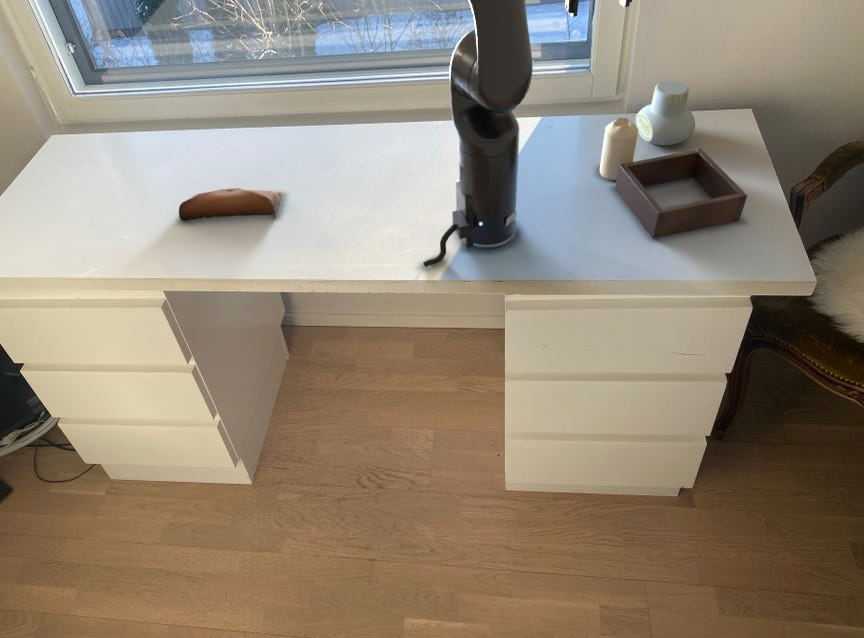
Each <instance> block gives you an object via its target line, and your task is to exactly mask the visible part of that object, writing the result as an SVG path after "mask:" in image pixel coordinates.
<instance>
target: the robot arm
mask: <svg viewBox="0 0 864 638" xmlns="http://www.w3.org/2000/svg"><path fill="white" fill-rule="evenodd" d="M579 1H580V0H565V1H564V3H565V4H564V9H565V12H567V13H568V15H569V16H570V17H571V18H574V17H575V18H576V17H578V11H579V10H578V9H579ZM468 2H469V4H470V5H469V6H470V8H471V12H472V16H473V21H474V27H475V28H474V29H472V30H470V31H469V32H467V33H466V34H465V35H464V36H462V37H461V39H460V40H459V41H458V42H457V44H456V46H455V49H454V50H453V52H452V55H451V59H450V65H449V88H450V89H449V90H450V105H451V116H452V122H453V126H454V128H455V131H456V133H457V139H458V140H457V143H458V144H457V145H458V178H459V179H457V180H456V181H455V199H456V200H455V201H456V205H455V206H456V210H454V211H452V213H451V215H452V224H451V226H450V227H449V228H447V230H446V231H445V232H444V233H443V235H442V236H441V238H440V242H439V249H440V250H439V253H438V254H437V256H435V257H433V258H430V259H427V260H425V261H423V262H422V265H423V266H424V267H425V268H428V267H430V266H432V265H436V264H438V263H440V262H441V261H442V260H444V258H445V256H446V255H447V242H448V240H449V238H450V237H451V236H452V235H453V234H454V233H455V232H456V234H457V236H458V239H459V240H462V241H463V244H464V246H465V248H467V249H468V248H475V249H482V250H492V249H493V250H494V249H498V248H501V247H503V246H506V245H508V244H509V243H510V242H511V241H513V240H514V238H515V236H516V230H517V229H516V223H517V222H516V218H517V192H518V172H519V171H518V169H519V150H520V125H519V121H518V120H517V118H516V116H515V114H514V112H513V111H514V110H515V109H517V107H519V106H520V105H521V104H522V103H523V101H524V100H525V98H526V96H527V94H528V92H529V90H530V87H531V84H532V79H533V69H534V66H533V65H534V63H533V53H532V46H531V39H530V31H529V25H528V17H527V16H528V15H527V8H526V7H527V6H526V0H468ZM630 3H633V0H619V5H620V6H622V8H629V7H630Z"/></svg>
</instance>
